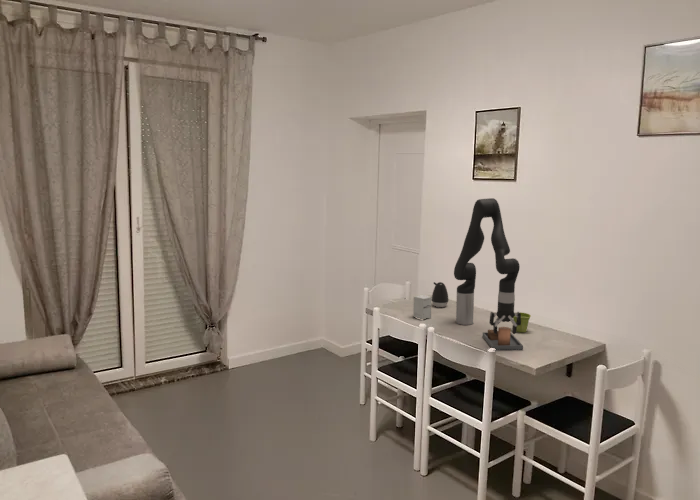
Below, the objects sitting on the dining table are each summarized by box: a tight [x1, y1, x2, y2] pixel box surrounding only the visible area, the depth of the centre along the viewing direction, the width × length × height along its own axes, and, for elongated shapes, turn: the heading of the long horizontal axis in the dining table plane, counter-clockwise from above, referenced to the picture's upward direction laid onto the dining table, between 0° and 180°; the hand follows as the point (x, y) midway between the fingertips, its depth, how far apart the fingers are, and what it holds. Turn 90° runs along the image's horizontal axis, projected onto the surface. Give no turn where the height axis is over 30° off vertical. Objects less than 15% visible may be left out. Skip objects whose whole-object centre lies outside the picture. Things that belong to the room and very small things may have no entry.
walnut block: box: [487, 329, 498, 340], centre depth 260 cm, size 4×4×4 cm
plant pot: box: [512, 311, 532, 334], centre depth 273 cm, size 9×9×9 cm
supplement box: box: [412, 294, 432, 319], centre depth 297 cm, size 7×7×13 cm
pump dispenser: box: [431, 281, 449, 308], centre depth 322 cm, size 10×10×15 cm
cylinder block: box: [497, 326, 512, 345], centre depth 251 cm, size 6×6×8 cm
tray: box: [481, 331, 524, 351], centre depth 255 cm, size 20×14×2 cm
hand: (504, 333), depth 251 cm, fingers open, 8 cm apart
